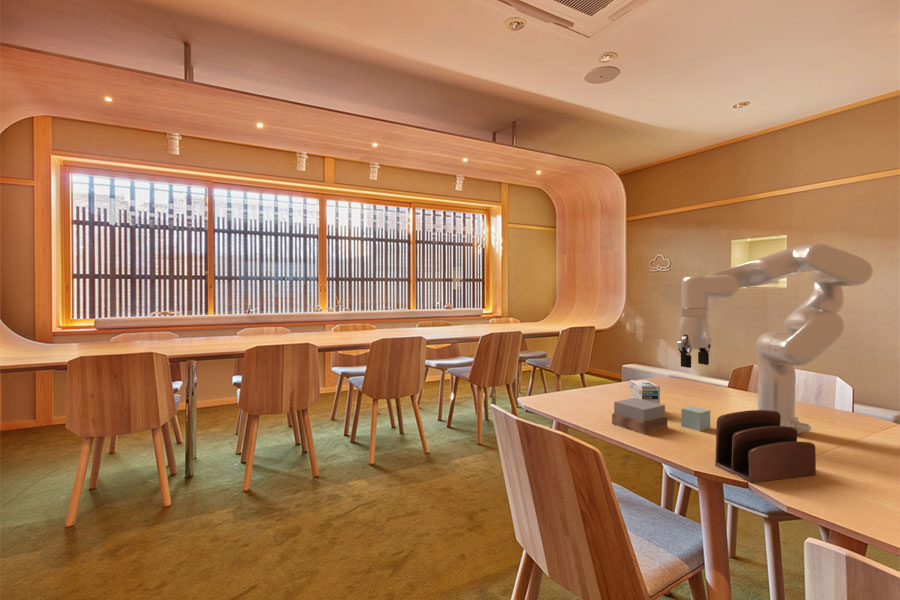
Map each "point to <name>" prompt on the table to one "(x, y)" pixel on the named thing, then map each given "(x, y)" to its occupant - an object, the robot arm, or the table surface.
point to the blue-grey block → (695, 418)
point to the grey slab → (639, 409)
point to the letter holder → (761, 447)
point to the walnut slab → (640, 424)
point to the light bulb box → (645, 391)
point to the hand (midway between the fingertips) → (694, 365)
